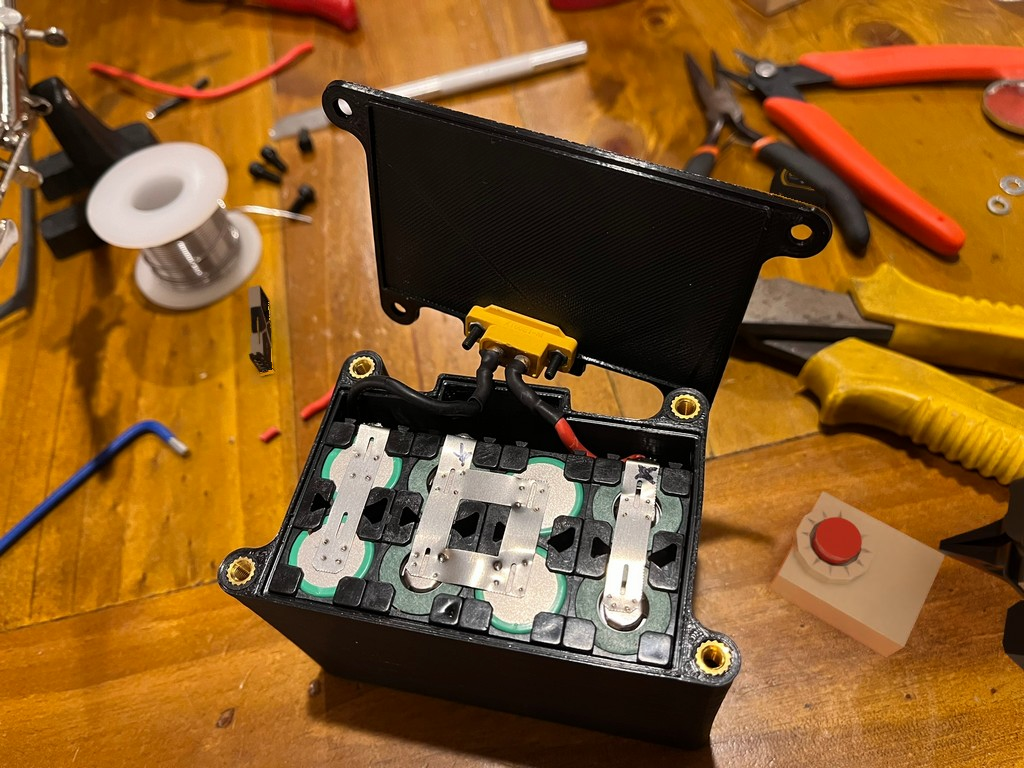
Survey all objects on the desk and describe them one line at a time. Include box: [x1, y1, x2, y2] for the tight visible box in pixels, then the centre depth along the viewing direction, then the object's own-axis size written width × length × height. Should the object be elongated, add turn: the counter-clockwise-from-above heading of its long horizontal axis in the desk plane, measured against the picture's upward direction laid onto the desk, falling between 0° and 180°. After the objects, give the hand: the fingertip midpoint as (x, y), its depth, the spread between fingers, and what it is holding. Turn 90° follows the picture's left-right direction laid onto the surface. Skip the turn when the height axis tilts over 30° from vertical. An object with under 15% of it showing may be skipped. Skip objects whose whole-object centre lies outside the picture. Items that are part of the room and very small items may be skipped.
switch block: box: [768, 491, 946, 658], centre depth 74 cm, size 12×10×7 cm
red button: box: [812, 517, 862, 564], centre depth 72 cm, size 4×4×2 cm
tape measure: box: [769, 166, 827, 211], centre depth 100 cm, size 7×7×4 cm
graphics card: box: [248, 284, 275, 373], centre depth 98 cm, size 12×3×5 cm, turn 12°
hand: (941, 547), depth 66 cm, fingers closed
